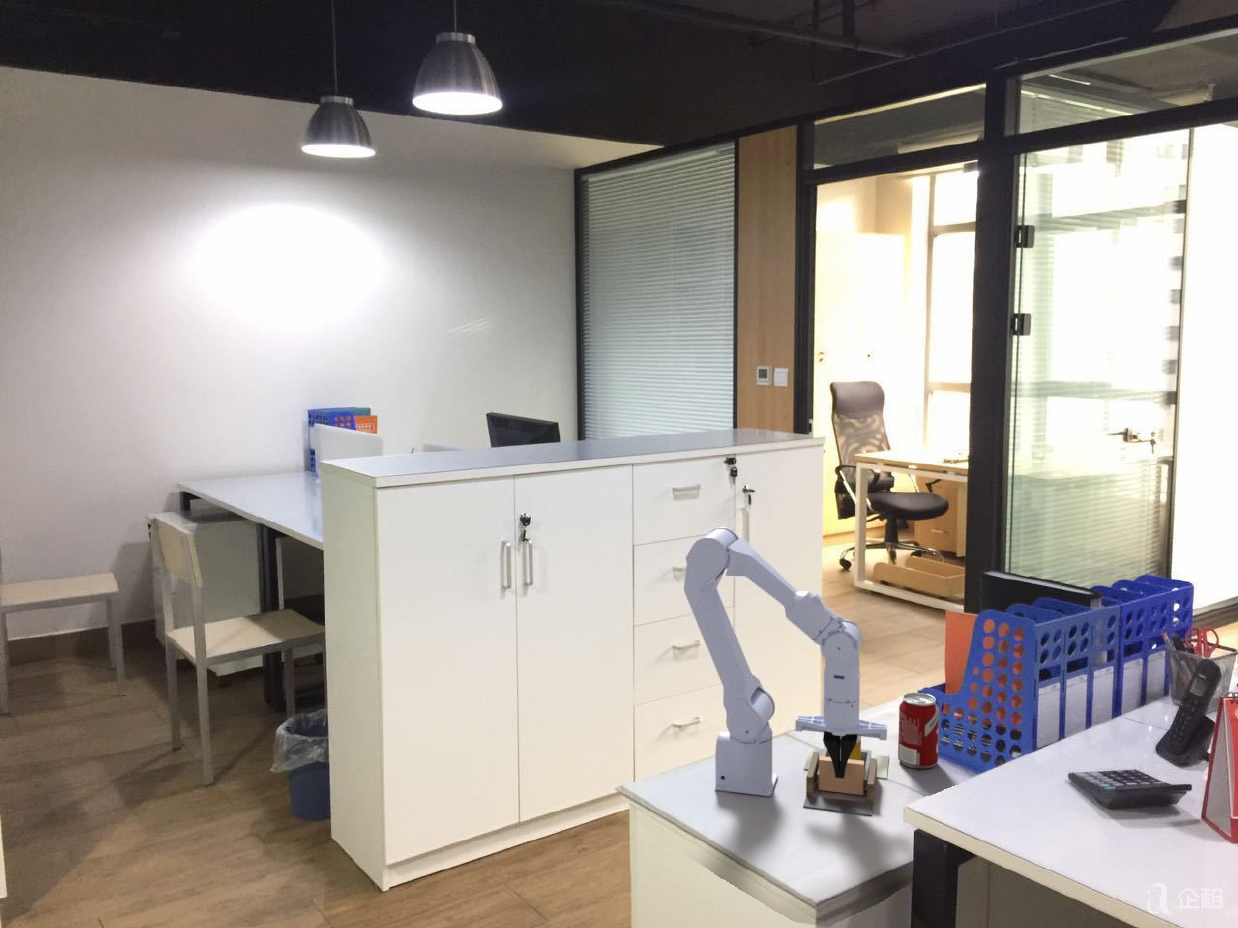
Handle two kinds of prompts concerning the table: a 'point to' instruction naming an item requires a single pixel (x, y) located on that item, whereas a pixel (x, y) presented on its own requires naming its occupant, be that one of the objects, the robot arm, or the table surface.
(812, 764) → the track
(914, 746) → the soda can
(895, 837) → the table surface
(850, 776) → the box
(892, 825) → the table surface
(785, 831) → the table surface
